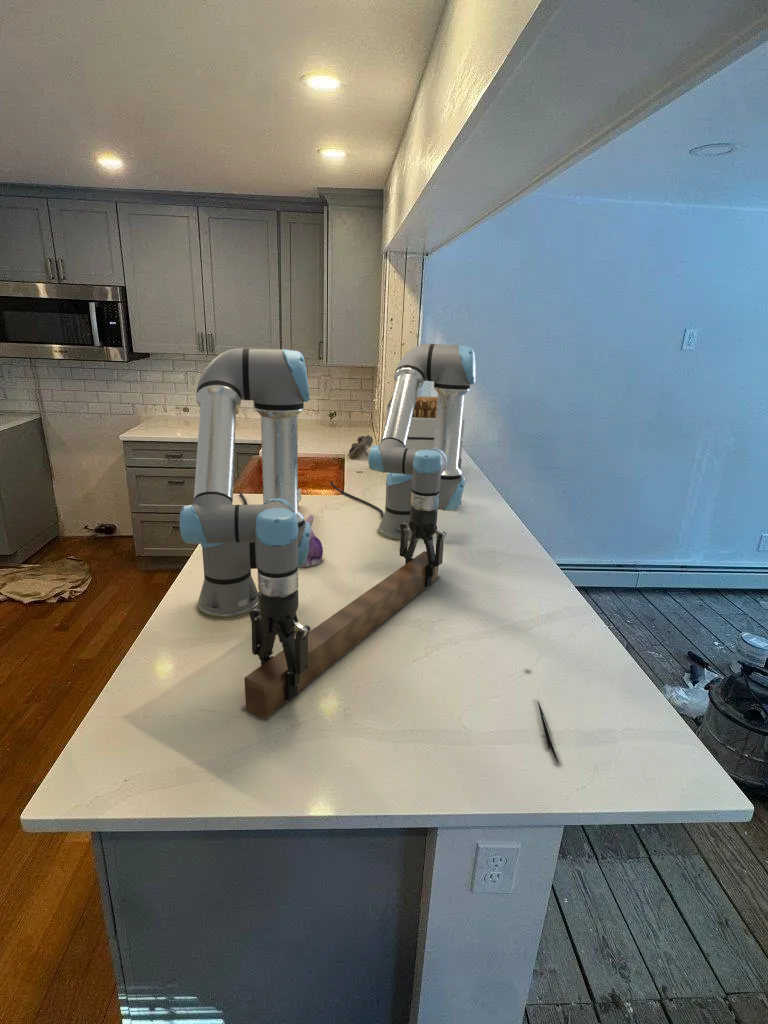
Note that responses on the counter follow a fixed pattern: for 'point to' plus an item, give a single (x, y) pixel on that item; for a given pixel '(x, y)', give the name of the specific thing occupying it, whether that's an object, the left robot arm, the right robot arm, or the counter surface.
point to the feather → (547, 731)
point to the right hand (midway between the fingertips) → (418, 582)
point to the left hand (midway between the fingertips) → (280, 691)
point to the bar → (337, 635)
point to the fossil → (360, 446)
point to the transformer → (425, 425)
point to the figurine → (313, 547)
